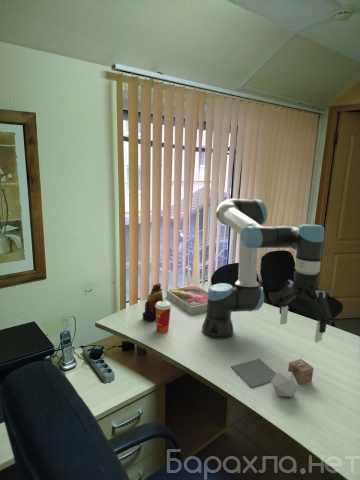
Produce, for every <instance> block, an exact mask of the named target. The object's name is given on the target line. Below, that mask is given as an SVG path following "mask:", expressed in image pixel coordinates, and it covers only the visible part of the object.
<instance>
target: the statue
mask: <svg viewBox="0 0 360 480" xmlns="http://www.w3.org/2000/svg"><path fill="white" fill-rule="evenodd" d="M146 299H147V300H146V301H145V304H144V306H145V307H144V312H142V319H143V320H144V321H146V322H147V323H152V322H156V307H155V305H156V303H157V302H159V301H164V297H163V292H162V284H161V283H160V282H159V283H154V284H152V289H151V291H150V294H149V295H148V297H147V298H146Z"/></svg>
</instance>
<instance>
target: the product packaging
mask: <svg viewBox="0 0 360 480" xmlns="http://www.w3.org/2000/svg"><path fill="white" fill-rule="evenodd" d="M207 295H208V291H207V290H206V289H205V290H204V289H203V288H201V287H200V286H198V285H196V284H192V285H187V286H183V287H178V288H177V287H176V288H171V289H167V290H166V298H167V299H168V300H170V301H171V302H173V304H175V305H177V306H179V307H180V308H181V309H182V310H184V311H185V312H186V313H189V315H191V316H193V315H196V314H197V315H198V314H201V313H204V312H205V313H207V300H208V298H207Z"/></svg>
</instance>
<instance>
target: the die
mask: <svg viewBox="0 0 360 480" xmlns="http://www.w3.org/2000/svg"><path fill="white" fill-rule="evenodd" d="M270 383H271V385H272V386H273V389H274V391H275V394H277V397H283V398H284V397H286V398H288V397H290V398H291V397H294V396H295V394H296V392H297V391H298V390H299V389H300V387H301V386H299V384H298V383H297V381H296V379H295V377H294V375H293V373H292V372H288V371H281V370H280V371H279V370H277V371H276V374H275V376H274V377H273V379H272V381H271V382H270Z"/></svg>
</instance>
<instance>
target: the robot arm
mask: <svg viewBox="0 0 360 480" xmlns="http://www.w3.org/2000/svg"><path fill="white" fill-rule="evenodd" d="M216 218H217V220H218V221H219V222H220V223H221V224H223V225H225V226H229V227H230V228H231V229H232V230H233V231H234V232H235V233H237V234H238V235H239V245H238V248H239V249H238V251H239V252H238V275H237V277H238V279H237V280H236V281H235V282H234V286H233V285H232V284H230V283H226V282H225V283H224V282H223V283H222V282H220V283H216V284H215V283H214V284H212V285H210V287H209V288H208V291H207V292H208V295H207V298H208V300H207V311H206V315H205V318H204V321H203V323H202V327H201V331H202V334H204V335H205V336H206V337H209V338H211V339H215V340H226V339H229V338H231V337H232V336H233V335H234V325H233V322H232V317H231V316H232V313H233V312H234V313H235V312H236V313H237V312H239V313H240V312H254V311H259V310H260V309H261V308H262V306H263V304H264V300H265V293H264V290H263V287H261V286H260V282H258V281H257V272H258V271H257V269H258V249H273V248H274V249H287V248H289V249H293V250H295V251H296V255H295V262H294V263H295V265H294V269H295V271H294V272H293V280H292V279H288V280H285V281H284V286H283V287H282V289H281V290H280V293H279V294H278V295H277V298H275V303H277V304H279V315H280V319H279V324H280V326H283V325H285V324H287V323H288V313H289V305H288V304H289V303H290V302H291V301H293V300H294V299H295V298H298V299H302V300H304V301H307V303H309V305H310V306H311V308H312V310H313V311H314V313H315V316H316V317H317V319H318V321H317V322H316V326H315V336H314V342H316V343H319V342H321V341H322V340H323V334H324V333H326V331H327V330H326V329H327V325H329V324H331V323H334V318H333V314H332V311H331V309H330V306H329V305H330V304H329V303H328V298H327V291H326V290H323V291H322V290H318V284H319V279H320V274H319V273H320V271H321V263H322V255H323V247H324V241H325V227H324V226H323V225H320V224H314V223H302V224H300V225H299V226H298V227H297V226H294V225H289V224H285V225H282V226H281V225H279V226H276V225H275V226H274V225H273V226H272V225H271V226H269V225H268V226H267V225H266V226H265V225H263V224H265V223H266V222H267V219H268V209H267V205H266V204H265V202H264V201H262V200H261V199H255V198H228V199H225V200H223V201H222V202H220V204H219V205H218V207H217V208H216ZM291 288H293V291H291ZM289 291H291V292H290V294H289ZM288 294H289V295H288ZM287 295H288V296H287Z"/></svg>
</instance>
